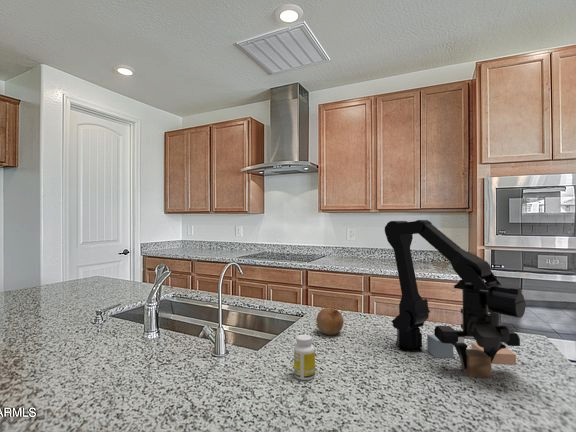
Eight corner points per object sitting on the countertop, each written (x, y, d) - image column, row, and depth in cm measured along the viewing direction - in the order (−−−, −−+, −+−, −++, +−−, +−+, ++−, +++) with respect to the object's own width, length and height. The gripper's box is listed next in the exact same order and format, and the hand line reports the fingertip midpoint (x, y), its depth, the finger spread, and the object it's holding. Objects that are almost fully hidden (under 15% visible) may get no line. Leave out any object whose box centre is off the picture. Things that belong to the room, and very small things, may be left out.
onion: (339, 344, 108) (348, 322, 105) (312, 337, 109) (320, 314, 105) (338, 326, 117) (346, 304, 114) (313, 319, 117) (321, 297, 114)
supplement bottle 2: (504, 343, 101) (503, 305, 101) (480, 341, 102) (480, 304, 103) (494, 335, 108) (494, 300, 108) (472, 334, 109) (472, 299, 109)
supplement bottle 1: (317, 372, 83) (317, 334, 83) (312, 382, 78) (311, 342, 78) (297, 369, 84) (297, 332, 85) (291, 378, 79) (290, 339, 79)
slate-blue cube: (437, 358, 91) (437, 340, 91) (427, 351, 96) (427, 334, 96) (453, 357, 91) (453, 339, 91) (442, 350, 96) (442, 333, 96)
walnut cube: (470, 376, 80) (469, 356, 80) (461, 367, 85) (461, 348, 85) (491, 377, 79) (491, 357, 79) (481, 368, 84) (481, 349, 84)
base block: (484, 364, 87) (484, 353, 87) (471, 352, 95) (471, 342, 95) (516, 365, 86) (515, 354, 86) (499, 353, 94) (499, 343, 94)
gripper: (449, 316, 75) (450, 382, 75) (534, 318, 73) (535, 386, 73) (433, 304, 86) (434, 361, 86) (506, 305, 84) (507, 364, 84)
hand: (475, 368), depth 82 cm, fingers closed on walnut cube, 5 cm apart
